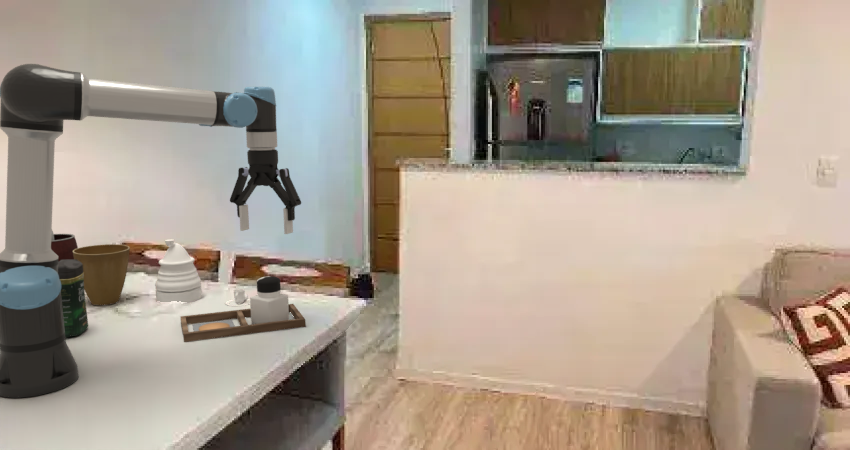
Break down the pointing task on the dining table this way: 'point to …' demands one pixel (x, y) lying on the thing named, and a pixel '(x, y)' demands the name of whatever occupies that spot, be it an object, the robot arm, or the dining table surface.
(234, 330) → the walnut rack
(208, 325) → the card
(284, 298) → the medicine bottle
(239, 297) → the teacup and saucer
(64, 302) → the coffee jar
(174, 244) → the honey pot
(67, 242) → the mate gourd
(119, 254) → the plant pot
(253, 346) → the dining table surface
